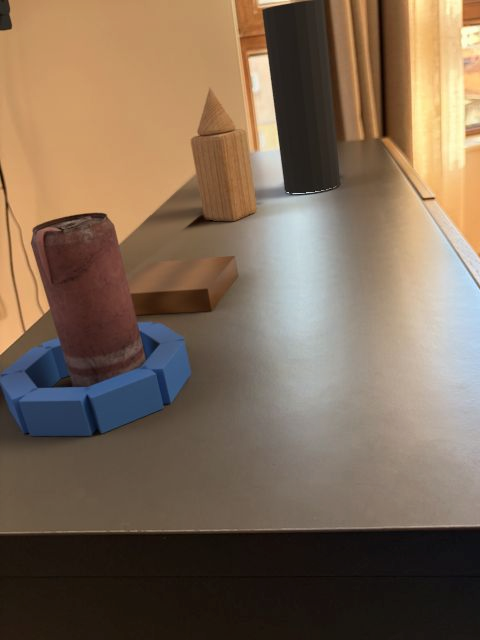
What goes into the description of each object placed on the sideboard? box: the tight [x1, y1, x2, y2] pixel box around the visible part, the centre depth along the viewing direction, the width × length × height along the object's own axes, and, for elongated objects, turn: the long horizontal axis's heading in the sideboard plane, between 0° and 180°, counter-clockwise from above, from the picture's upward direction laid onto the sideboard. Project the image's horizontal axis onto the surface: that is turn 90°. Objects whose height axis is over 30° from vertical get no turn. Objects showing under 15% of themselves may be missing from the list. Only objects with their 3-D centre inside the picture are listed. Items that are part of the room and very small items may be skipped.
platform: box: [127, 255, 239, 316], centre depth 71 cm, size 11×11×2 cm
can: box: [30, 212, 146, 387], centre depth 49 cm, size 6×6×14 cm
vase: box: [261, 0, 341, 193], centre depth 111 cm, size 10×10×30 cm
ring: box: [0, 321, 192, 437], centre depth 52 cm, size 14×14×3 cm
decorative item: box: [190, 87, 258, 222], centre depth 101 cm, size 7×7×20 cm
